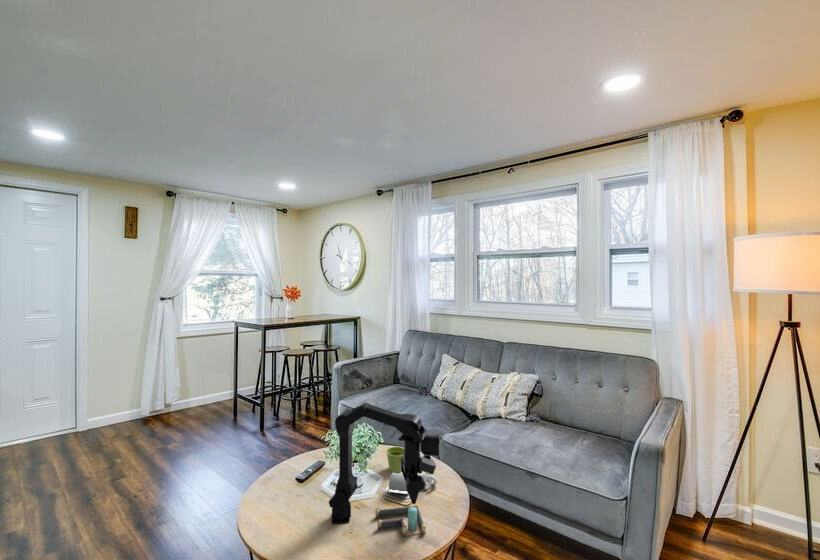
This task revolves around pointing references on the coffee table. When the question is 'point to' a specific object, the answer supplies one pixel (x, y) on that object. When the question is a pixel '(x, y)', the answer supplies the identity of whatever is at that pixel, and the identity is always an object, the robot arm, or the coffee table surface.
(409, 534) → the pad
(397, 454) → the plant pot
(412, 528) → the peg
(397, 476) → the ceramic mug
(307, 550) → the coffee table surface
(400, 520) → the metal rail track
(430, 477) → the knot
